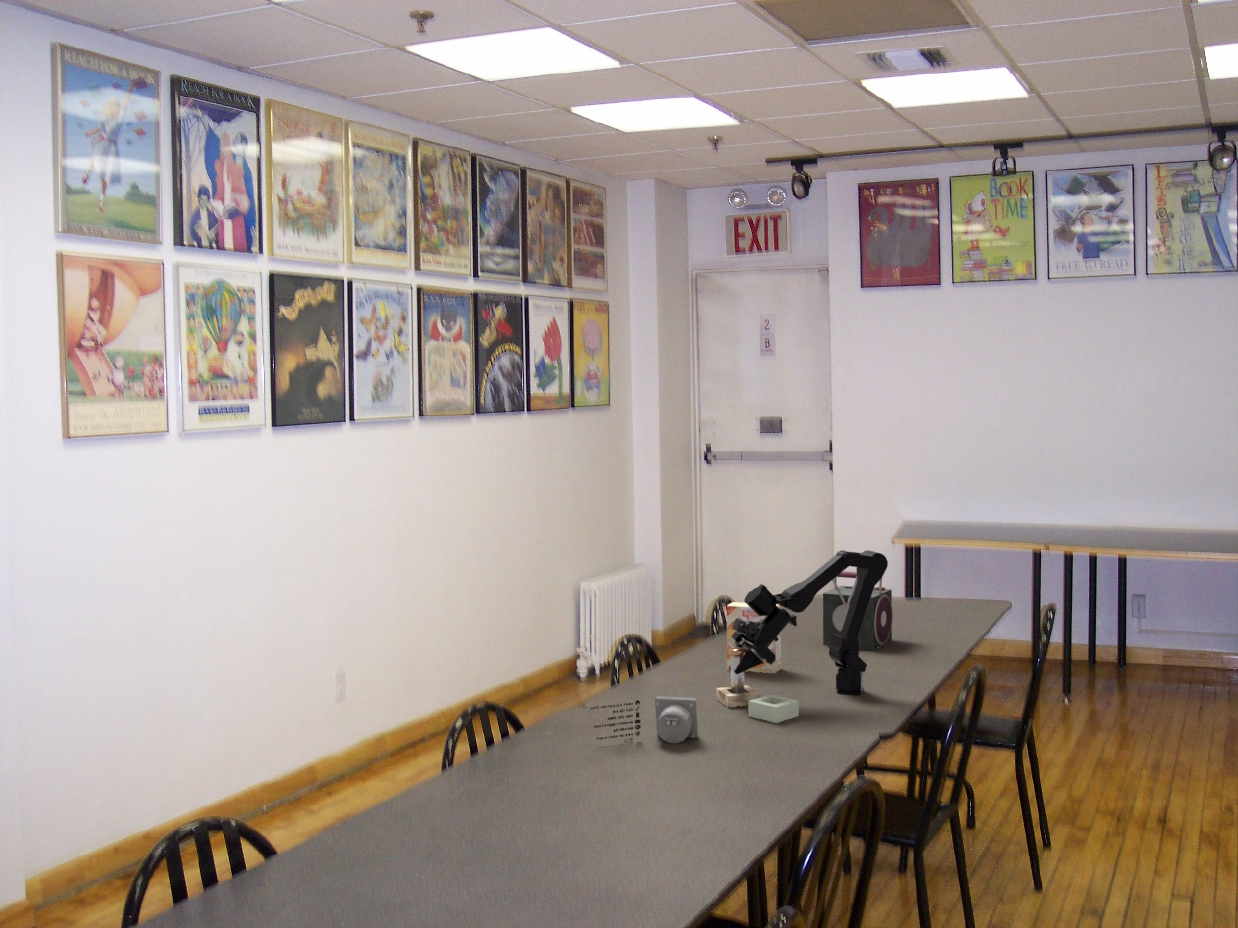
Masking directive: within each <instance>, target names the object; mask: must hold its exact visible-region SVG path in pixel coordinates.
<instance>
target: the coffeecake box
mask: <svg viewBox="0 0 1238 928" xmlns="http://www.w3.org/2000/svg"><path fill="white" fill-rule="evenodd" d="M776 606H777V607H778V608H779V609H782V606H780V605H778V604H776ZM765 617H766V616H764V615H763V616H758V615H757V614H756V613H755V612H754V611H753V610H752V609H751V608H750V607H749V606H748V605H747V604H746V603H745V602H743V601H742V602H740V601H739V602H738V601H732V602H730V603H728V604H727V605H726V667H727V668H726V670H727V671H731V670H730V669H729V666H730V664H731V655H730V654H729V648H733V647H736V644H735V640H734V639H732V637H731V636H732V635H733V634H734V633H735V632H737V631H736V630H733V629H732V627H733V625H734V623H735V620H736V618H738V619H740V620H742V621H745V622H747V621H748V620H750V621H752V622H755V623H756V622H759V623H761V622H762V620H763V619H764V618H765ZM777 638H778V641H777V642H776V641H773V642H772V643H771V644H770V645H769V647H768V648H769V649H770V650H771V651H772V652H773V653H774V654H775V655H776V660H775V662H774V663H773V664H772V665H770V664H768V663H767V662H766V660H765V659H764V660H763V662H764V664H760V665H758V666H755V667H753V668H750V669H748V670H746V671H745V672H748V671H751V672H750V673H760V672H762V673H761V674H763V673H764V674H773V673H775V674H777V673H778V672H779V671H780V670H781V669H782V632H781V633H780V634H779V635H778V636H777ZM777 671H778V672H777ZM776 672H777V673H776ZM775 674H774V675H775Z"/></svg>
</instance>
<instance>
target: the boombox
mask: <svg viewBox="0 0 1238 928" xmlns="http://www.w3.org/2000/svg"><path fill="white" fill-rule="evenodd" d="M838 578H846V579H854V582H853V583H854V584H853V585H840V586H838V584H837V582H838V580H837V579H838ZM882 581H883V577H882V578H881V579H880V580H879V582H878V583H879V584H878V586H877V585H875V587H874V589H873V592H872V595H871V599H870V602H869V605H868V608H867V611H866V614H865V618H864V621H863V624H862V627H861V630H860V633H859V643H860V650H864V649H865V651H866V650H867V651H875V650H877V649H879V648H881V647H882V645H883V646H884V644H885V645H886V644H888V643H890V642H892V641H893V638H892V637H893V634H892V633H893V632H892V631H893V630H892V629H893V616H894V615H893V606H892V605H893V603H892V602H893V599H892V595H893V593H892V591H893V589H892V588H891V589H890V588H886V587H885V586H882V585H883V584H882V583H883V582H882ZM832 583H833V585H834V586H833V587H834V588H833V589H830V590H828V591H825V592H823V593H822V613H821V614H822V616H821V618H822V619H821V621H822V639H823V640H822V643H823V644H822V645H823V646H828V645H829V644H830V642H831V637H832V634H835V635H838V634H839V633H840V631H841V630H842V628H843V625H844V622H845V619H846V616H847V612H848V609H849V606H850V603H851V600H852V597H853V593H854V590H855V587H856V584H857V571H846V570H844V571H843V572H841V573H840V574H839V575H838V576H837V577H835V578H834V579H833V580H832ZM880 646H881V647H880ZM878 647H879V648H878Z"/></svg>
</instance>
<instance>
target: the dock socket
mask: <svg viewBox="0 0 1238 928" xmlns="http://www.w3.org/2000/svg"><path fill="white" fill-rule="evenodd" d="M799 701H800V700H797V699H794V698H788V697H784V696H780V695H776V694H771V693H770V694H768V695H764V696H760V698H757V699H753V700H750V701H748V706H747V707H748V717H750V718H753V719H757V720H761V719H762V721H765V720H766V721H765V722H770V723H774V724H779V723H782V722H784V720H785V721H788V720H790V719H793V718H797V717H800V715H799V714H800V713H799V711H800V709H799V706H800V703H799ZM787 719H788V720H787Z"/></svg>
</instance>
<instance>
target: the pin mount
mask: <svg viewBox="0 0 1238 928" xmlns="http://www.w3.org/2000/svg"><path fill="white" fill-rule="evenodd" d="M760 697H761V693H760V692H758V691H757V690H755V689H753V688H752V687H751V686H749V685H745V693H736V694H732V693H731V686H727V687H726V686H724V687H715V699H716V700H717V701H718V702H719V701H720V703H721V704H723V706H725V707H726V708H728V707H729V708H737V706H740V707H748V701H750V700H753V699H757V698H760Z"/></svg>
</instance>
